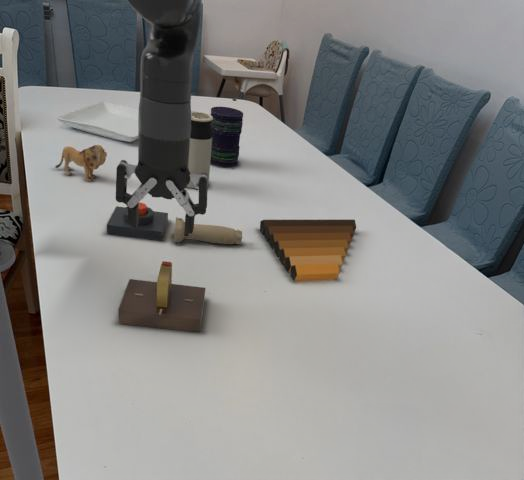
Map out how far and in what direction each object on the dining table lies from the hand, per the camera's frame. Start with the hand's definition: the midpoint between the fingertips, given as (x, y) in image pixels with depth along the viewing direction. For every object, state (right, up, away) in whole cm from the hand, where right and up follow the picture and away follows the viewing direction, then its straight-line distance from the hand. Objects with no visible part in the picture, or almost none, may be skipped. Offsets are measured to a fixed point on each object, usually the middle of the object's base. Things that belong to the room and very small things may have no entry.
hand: (161, 230), depth 83 cm
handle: (+12, +6, +31) cm, 34 cm away
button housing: (-11, +8, +31) cm, 34 cm away
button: (-11, +11, +29) cm, 33 cm away
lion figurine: (-31, +26, +49) cm, 64 cm away
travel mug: (-2, +26, +56) cm, 62 cm away
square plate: (-32, +54, +83) cm, 104 cm away
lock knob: (-1, -11, +5) cm, 12 cm away
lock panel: (-1, -13, +7) cm, 15 cm away
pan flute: (+32, +3, +35) cm, 47 cm away
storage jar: (+4, +39, +73) cm, 83 cm away
